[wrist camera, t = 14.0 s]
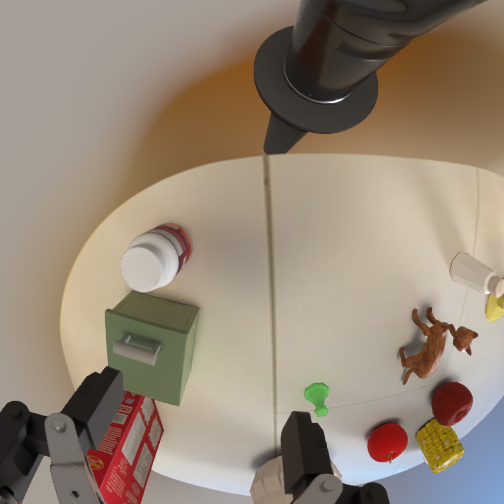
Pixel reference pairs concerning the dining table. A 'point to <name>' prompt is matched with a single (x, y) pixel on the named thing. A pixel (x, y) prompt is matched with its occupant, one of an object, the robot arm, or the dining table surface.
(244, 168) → the dining table surface
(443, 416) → the apple
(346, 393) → the dining table surface
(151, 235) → the pill bottle
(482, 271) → the pepper shaker
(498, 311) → the candle
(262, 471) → the vase
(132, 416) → the food packaging
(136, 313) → the bin
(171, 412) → the dining table surface
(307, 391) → the game piece
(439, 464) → the food
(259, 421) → the dining table surface
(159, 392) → the bread bin lid
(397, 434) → the fruit
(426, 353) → the cat figurine
